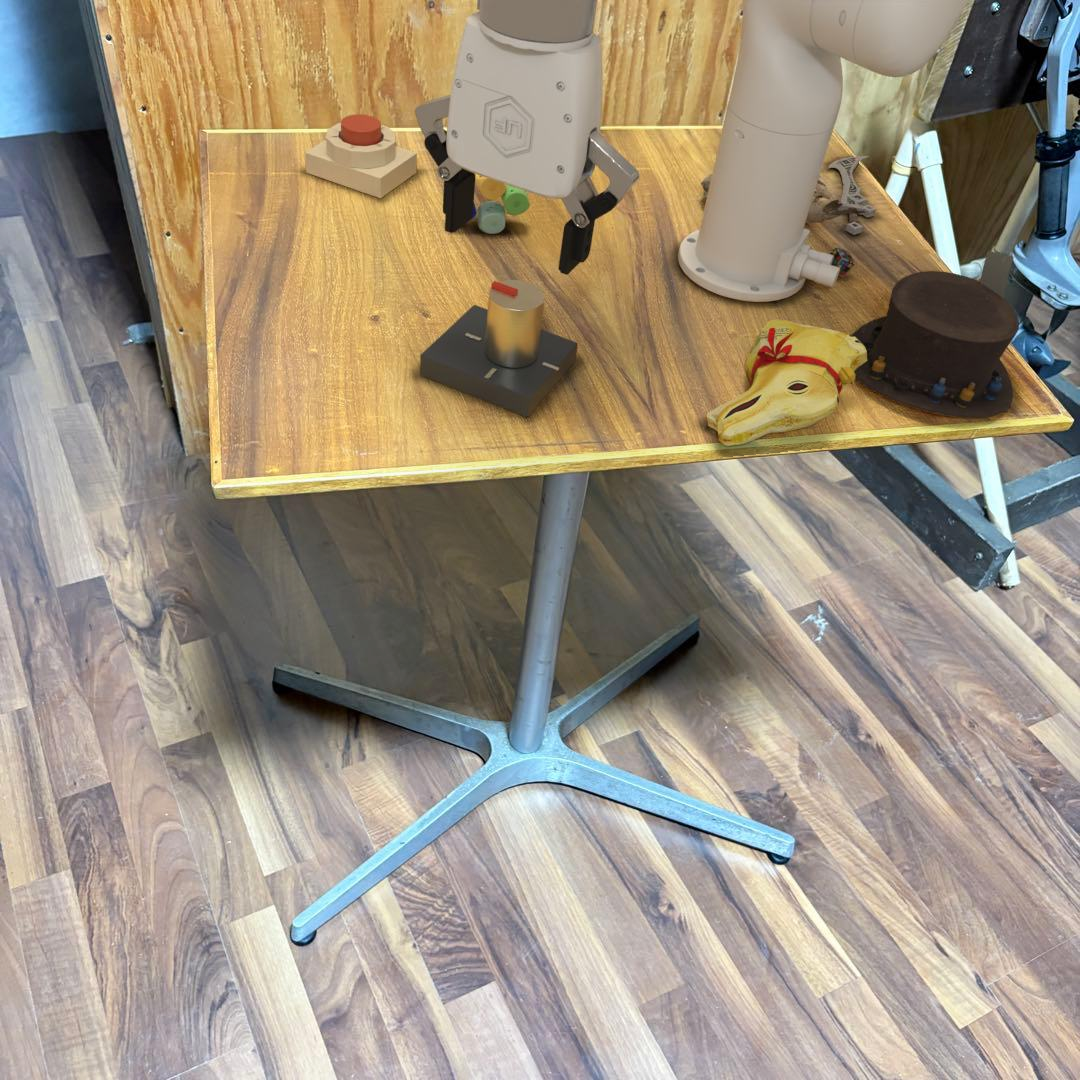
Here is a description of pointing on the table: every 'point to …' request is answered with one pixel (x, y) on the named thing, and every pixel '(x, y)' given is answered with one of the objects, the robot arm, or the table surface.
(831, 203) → the prawn
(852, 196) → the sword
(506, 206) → the dice
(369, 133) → the red push button
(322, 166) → the button base
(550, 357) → the dial panel
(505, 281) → the temp dial
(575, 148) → the robot arm
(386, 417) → the table surface
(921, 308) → the top hat
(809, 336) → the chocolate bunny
